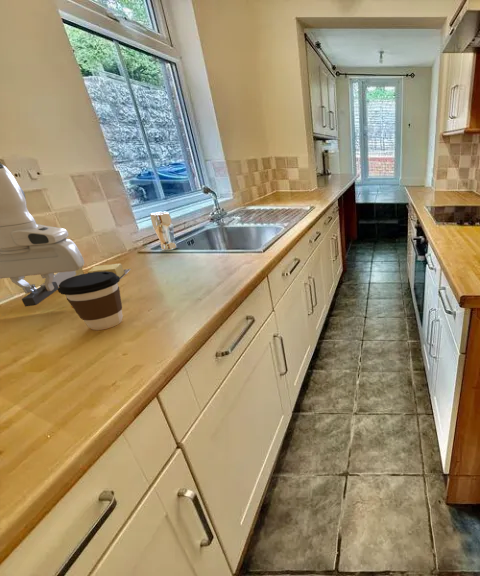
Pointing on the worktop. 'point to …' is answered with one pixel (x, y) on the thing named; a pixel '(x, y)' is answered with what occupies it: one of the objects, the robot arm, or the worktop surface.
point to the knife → (40, 295)
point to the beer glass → (164, 230)
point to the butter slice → (79, 272)
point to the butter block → (109, 269)
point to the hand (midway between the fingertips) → (40, 291)
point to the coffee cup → (94, 298)
